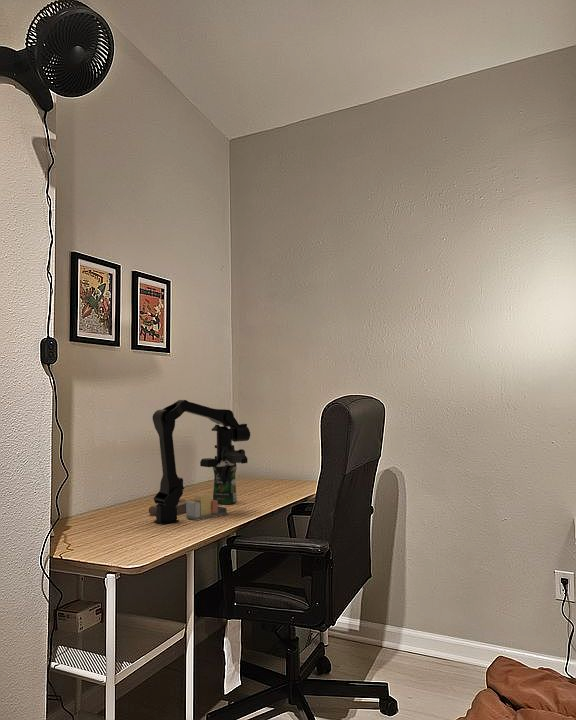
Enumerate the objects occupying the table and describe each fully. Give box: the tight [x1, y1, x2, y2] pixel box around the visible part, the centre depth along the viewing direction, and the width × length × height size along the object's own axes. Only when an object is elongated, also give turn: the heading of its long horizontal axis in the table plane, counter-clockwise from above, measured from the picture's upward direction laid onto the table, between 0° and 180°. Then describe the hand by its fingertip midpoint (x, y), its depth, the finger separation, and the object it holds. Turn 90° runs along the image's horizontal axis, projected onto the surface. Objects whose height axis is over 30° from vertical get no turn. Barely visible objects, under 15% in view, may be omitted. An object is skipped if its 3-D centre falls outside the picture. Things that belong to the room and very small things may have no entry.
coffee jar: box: [212, 463, 238, 505], centre depth 251 cm, size 10×8×19 cm
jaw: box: [212, 499, 219, 513], centre depth 224 cm, size 2×6×4 cm, turn 43°
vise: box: [185, 501, 228, 521], centre depth 222 cm, size 14×6×6 cm, turn 133°
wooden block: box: [148, 498, 194, 516], centre depth 231 cm, size 4×11×18 cm
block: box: [193, 493, 213, 516], centre depth 221 cm, size 5×4×7 cm
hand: (224, 483), depth 228 cm, fingers closed
